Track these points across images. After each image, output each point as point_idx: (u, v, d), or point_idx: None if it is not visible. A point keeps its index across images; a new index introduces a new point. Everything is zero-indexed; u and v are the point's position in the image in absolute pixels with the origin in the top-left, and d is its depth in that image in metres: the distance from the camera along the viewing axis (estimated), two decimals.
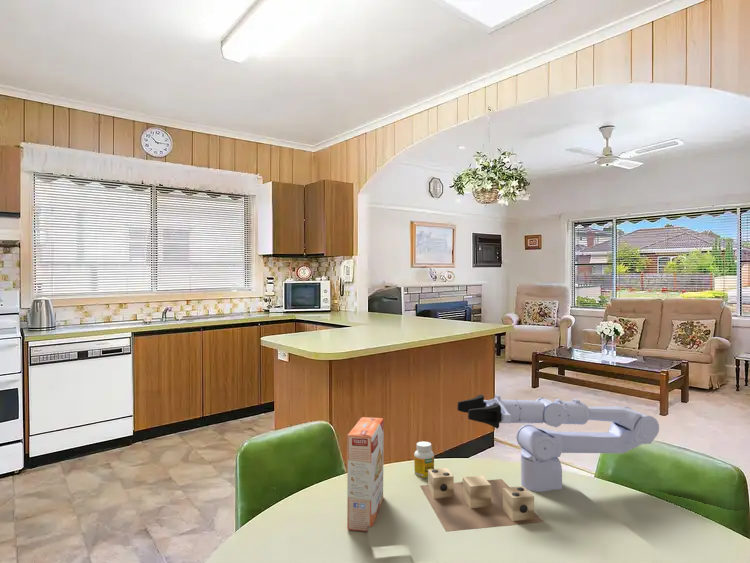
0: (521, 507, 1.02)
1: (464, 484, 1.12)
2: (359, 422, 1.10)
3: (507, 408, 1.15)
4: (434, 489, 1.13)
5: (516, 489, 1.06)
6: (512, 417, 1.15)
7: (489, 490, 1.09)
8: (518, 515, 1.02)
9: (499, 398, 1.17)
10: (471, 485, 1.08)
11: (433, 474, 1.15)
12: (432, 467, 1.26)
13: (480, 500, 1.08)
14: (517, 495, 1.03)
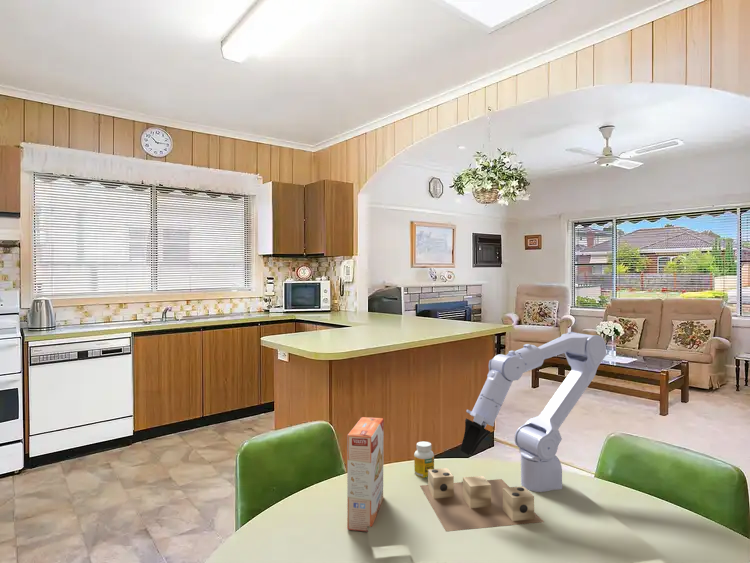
0: (521, 507, 1.02)
1: (464, 484, 1.12)
2: (359, 422, 1.10)
3: (478, 409, 1.12)
4: (434, 489, 1.13)
5: (516, 489, 1.06)
6: (489, 408, 1.11)
7: (489, 490, 1.09)
8: (518, 515, 1.02)
9: (468, 411, 1.14)
10: (471, 485, 1.08)
11: (433, 474, 1.15)
12: (432, 467, 1.26)
13: (480, 500, 1.08)
14: (517, 495, 1.03)
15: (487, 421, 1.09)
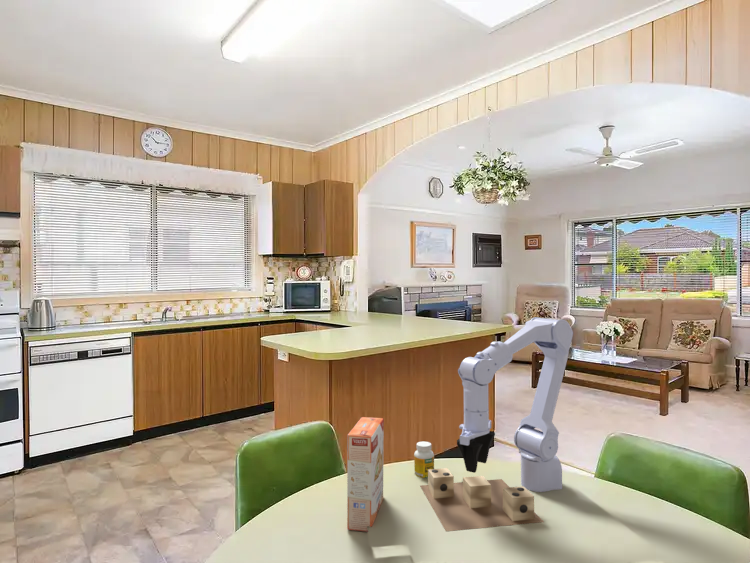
0: (521, 507, 1.02)
1: (464, 484, 1.12)
2: (359, 422, 1.10)
3: (466, 424, 1.09)
4: (434, 489, 1.13)
5: (516, 489, 1.06)
6: (474, 420, 1.08)
7: (489, 490, 1.09)
8: (518, 515, 1.02)
9: (461, 427, 1.12)
10: (471, 485, 1.08)
11: (433, 474, 1.15)
12: (432, 467, 1.26)
13: (480, 500, 1.08)
14: (517, 495, 1.03)
15: (476, 435, 1.06)
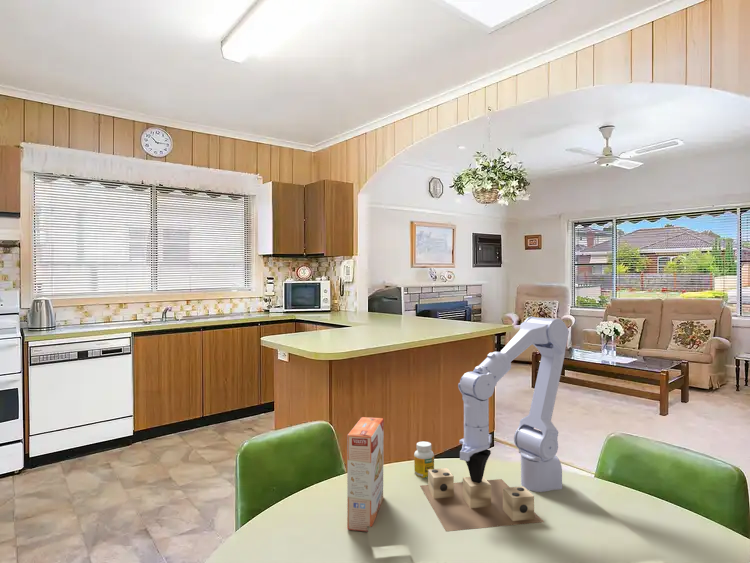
0: (521, 507, 1.02)
1: (464, 484, 1.12)
2: (359, 422, 1.10)
3: (466, 439, 1.09)
4: (434, 489, 1.13)
5: (516, 489, 1.06)
6: (475, 435, 1.08)
7: (489, 490, 1.09)
8: (518, 515, 1.02)
9: (461, 442, 1.12)
10: (471, 485, 1.08)
11: (433, 474, 1.15)
12: (432, 467, 1.26)
13: (480, 500, 1.08)
14: (517, 495, 1.03)
15: (476, 451, 1.06)
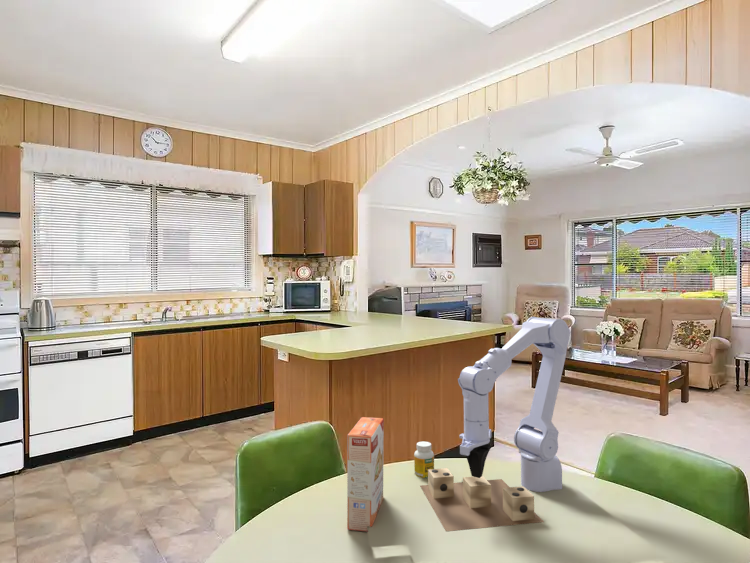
0: (521, 507, 1.02)
1: (464, 484, 1.12)
2: (359, 422, 1.10)
3: (466, 434, 1.09)
4: (434, 489, 1.13)
5: (516, 489, 1.06)
6: (475, 430, 1.08)
7: (489, 490, 1.09)
8: (518, 515, 1.02)
9: (461, 437, 1.12)
10: (471, 485, 1.08)
11: (433, 474, 1.15)
12: (432, 467, 1.26)
13: (480, 500, 1.08)
14: (517, 495, 1.03)
15: (476, 445, 1.06)
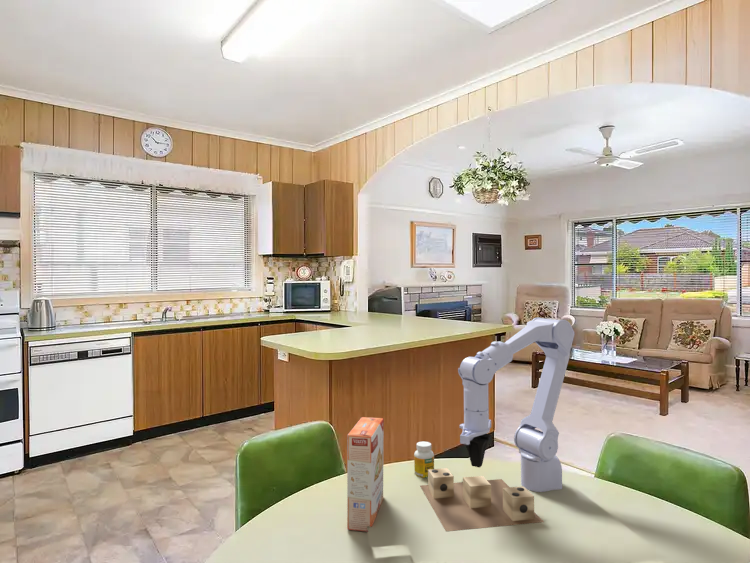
0: (521, 507, 1.02)
1: (464, 484, 1.12)
2: (359, 422, 1.10)
3: (466, 423, 1.10)
4: (434, 489, 1.13)
5: (516, 489, 1.06)
6: (475, 419, 1.08)
7: (489, 490, 1.09)
8: (518, 515, 1.02)
9: (461, 427, 1.12)
10: (471, 485, 1.08)
11: (433, 474, 1.15)
12: (432, 467, 1.26)
13: (480, 500, 1.08)
14: (517, 495, 1.03)
15: (476, 435, 1.07)
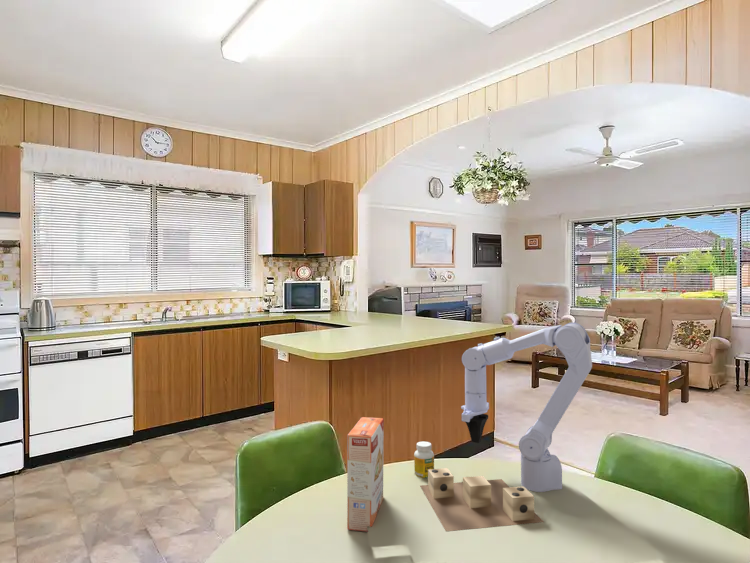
0: (521, 507, 1.02)
1: (464, 484, 1.12)
2: (359, 422, 1.10)
3: (467, 404, 1.26)
4: (434, 489, 1.13)
5: (516, 489, 1.06)
6: (474, 401, 1.25)
7: (489, 490, 1.09)
8: (518, 515, 1.02)
9: (462, 408, 1.28)
10: (471, 485, 1.08)
11: (433, 474, 1.15)
12: (432, 467, 1.26)
13: (480, 500, 1.08)
14: (517, 495, 1.03)
15: (476, 414, 1.23)
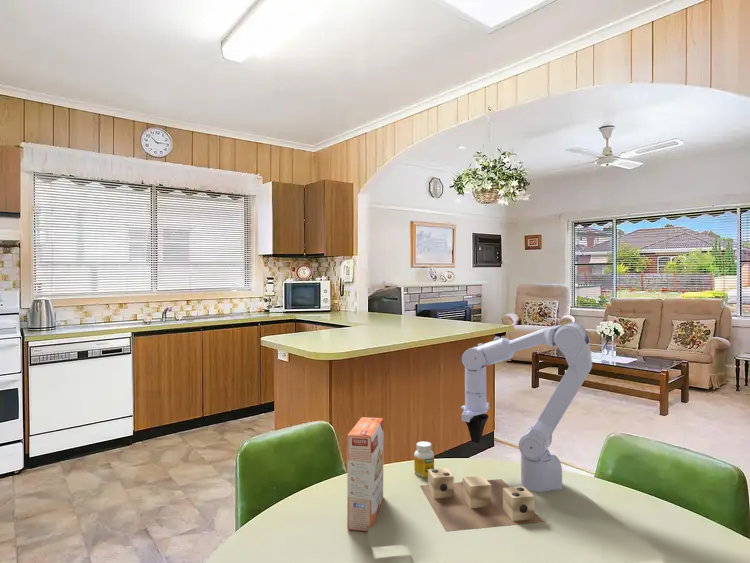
0: (521, 507, 1.02)
1: (464, 484, 1.12)
2: (359, 422, 1.10)
3: (467, 404, 1.26)
4: (434, 489, 1.13)
5: (516, 489, 1.06)
6: (474, 401, 1.25)
7: (489, 490, 1.09)
8: (518, 515, 1.02)
9: (462, 408, 1.28)
10: (471, 485, 1.08)
11: (433, 474, 1.15)
12: (432, 467, 1.26)
13: (480, 500, 1.08)
14: (517, 495, 1.03)
15: (476, 414, 1.23)
